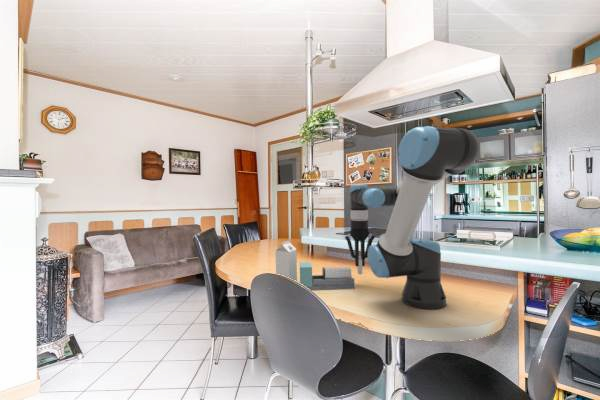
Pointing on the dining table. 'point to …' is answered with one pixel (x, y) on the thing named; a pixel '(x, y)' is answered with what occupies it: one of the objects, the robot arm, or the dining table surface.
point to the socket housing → (306, 274)
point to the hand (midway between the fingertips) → (360, 273)
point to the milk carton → (286, 260)
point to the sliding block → (336, 272)
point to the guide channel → (331, 283)
